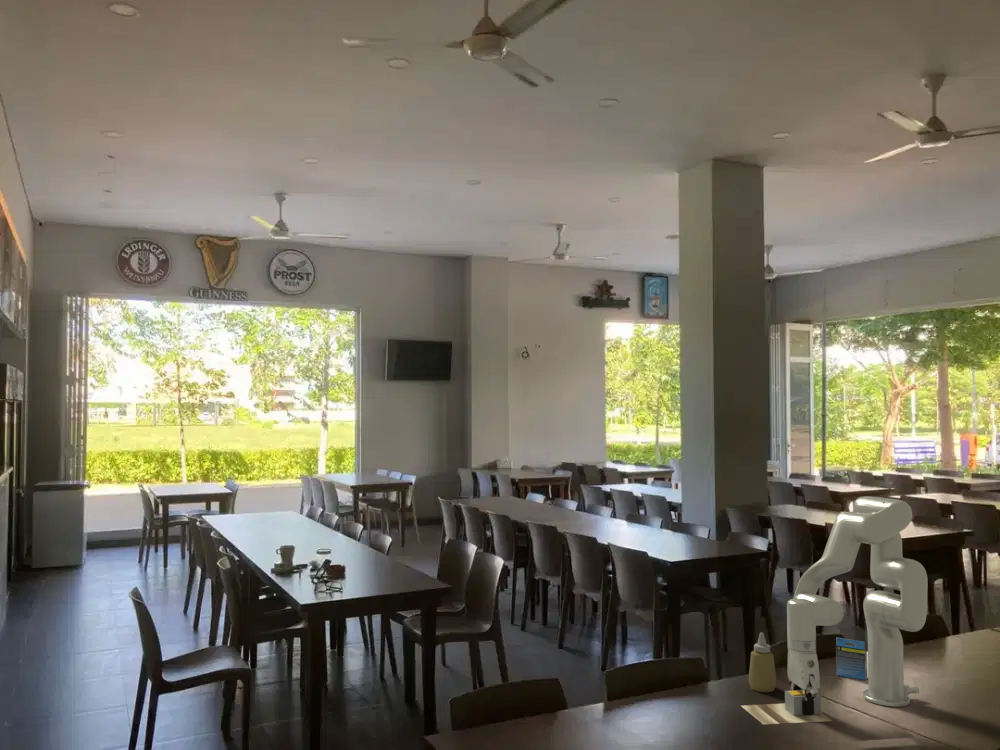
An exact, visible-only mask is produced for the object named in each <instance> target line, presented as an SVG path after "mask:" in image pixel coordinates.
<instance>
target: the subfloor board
mask: <svg viewBox="0 0 1000 750" xmlns="http://www.w3.org/2000/svg"><path fill="white" fill-rule="evenodd" d="M740 707H742V709H744V710H745V712H748V714H750V715H751V716H752V717H754V718H755V720H757V721H759V722H760V723H761V724H762V725H763V726H764V725H780V724H782V725H783V724H795V723H796V724H798V723H800V724H801V723H816V722H818V723H819V722H832V721H833V720H832V718H830V717H829V716H827V715H825V714H824V713H822V712H821V714H813V715H796V716H794V715H793V714H791V713H790V712H788V711H787V710H786V709H785V702H783V703H767V704H748V705H747V704H746V705H740Z"/></svg>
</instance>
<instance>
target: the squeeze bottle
mask: <svg viewBox="0 0 1000 750" xmlns="http://www.w3.org/2000/svg"><path fill="white" fill-rule="evenodd" d="M758 635H759V636H758V639H757V643H755V644H754V645H753V650H752V651H751V652H750V660H749V661H750V662H749V670H748V683H749V686H750V689H751V690H754V691H756V692H760V693H770V692H774V691H775V687H776V685H777V676H776V675H777V674H776V668H775V658H774V654H773V653H772V652H771V645H769V644H767V641H766V636H765V633H764V632H760V633H759V634H758Z"/></svg>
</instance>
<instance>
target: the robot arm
mask: <svg viewBox="0 0 1000 750" xmlns="http://www.w3.org/2000/svg"><path fill="white" fill-rule="evenodd" d="M853 502H854V503H853V511H843V512H840V513H839V514H837V515H836V518H835V519H834V522H833V525H832V528H831V530H830V533H829V537H828V540H827V542H826V544H825V548H824V551H823V554H822V556H821V558H820V559H819V560H818V561H816V562H815V563H813V564H812V565H811V566H810V567H808V569H807V570H806V571H805V572H804V573H803V574H802V575H801V576H800V578H799V581H798V583H797V586H796V588H795V591H794V594H793V598H791V599H789V600H788V601H787V603H786V618H787V619H786V625H787V627H786V630H787V631H786V633H787V637H786V638H787V639H786V640H787V643H786V644H787V660H786V661H787V664H786V669H787V672H786V673H787V678H788V680H789V684H790V691H793V690H802V692H803V698H804V700H802V714H803V715H813V714H814V700H815V697H816V695H817V694H819V690H820V688H821V681H820V680H821V679H820V677H821V676H820V669H819V667H820V666H819V660H818V655H817V630H816V629H817V626H821V627H822V626H824V627H827V626H828V627H830V626H835V625H837V624H839V623H840V622H841V621H842V619H843V617H844V609H843V606H842V605H841V603H839V601H837V600H836V599H833V598H830V597H826V596H823V595H818V594H817V592H818V590H819V589H820V586H821V585H822V584H823V583H824V582H826V581H827V580H829V579H831V578H833V577H836V576H839V575H841V574H845V573H848V572H851V571H852V570H853V568H854V565H855V562H856V558H857V555H858V552H859V551H860V547H861V544H866V545H867V544H868V545H870V563H869V564H870V565H869V566H870V567H869V568H870V570H869V572H870V574H869V575H870V579H871V581H872V582H873V583H874V584H876V585H878V586H880V587H883V588H887V589H890V590H896V591H899V592H900V594H897V593H894V592H889V591H885V590H873V591H871V592H869V593H868V594H866V595H865V597H864V599H863V603H862V606H863V607H862V608H863V613H864V619H865V623H866V628H867V629H866V631H867V633H866V634H867V678H868V679H867V680H868V689H865V690H864V691H863V692H862V697H863V698H864V699H865V700H866V701H868V702H870V703H873V704H876V705H880V706H885V707H886V706H887V707H893V708H895V707H896V708H897V707H900V708H901V707H906V706H909V705H910V704H911V697H909V695H910V694H919V693H920V687H918V686H910V685H909V684H905V679H904V678H905V675H904V671H905V669H904V640H903V636H902V633H901V631H900V630H902V631H906V632H914V633H916V632H919V631H920V630H922V629H923V628H924V625H925V623H926V620H927V611H928V586H929V585H928V574H927V571H926V569H925V567H924V566H923V565H922V563H921V562H919V561H917V560H915V559H911V558H905V557H903V539H902V535H901V532H902V531H903V530H905V529H906V528H907V527H908V526H909V525H910V524H911V522H912V519H913V511H912V507H911V505H909V504H908V503H907V502H906V501H904V500H901V499H898V498H897V499H894V498H886V497H880V496H868V495H866V496H860V497H858V498H856V499H855V501H853ZM806 691H810V692H809V693H808V694H807V693H806Z"/></svg>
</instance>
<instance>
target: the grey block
mask: <svg viewBox="0 0 1000 750" xmlns="http://www.w3.org/2000/svg"><path fill="white" fill-rule="evenodd" d="M809 692H810V691H806V693H807V694H808V693H809ZM802 700H804V698H803V692H802V690H793V691H791V690H784V703H785V709H786V710H787V711H788V712H790V713H791V714H793V715H794V716H796V715H803V714H802ZM821 713H822V695H820V694H819V693H818V694H817V695H816V697H815V700H814V714H821Z"/></svg>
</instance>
